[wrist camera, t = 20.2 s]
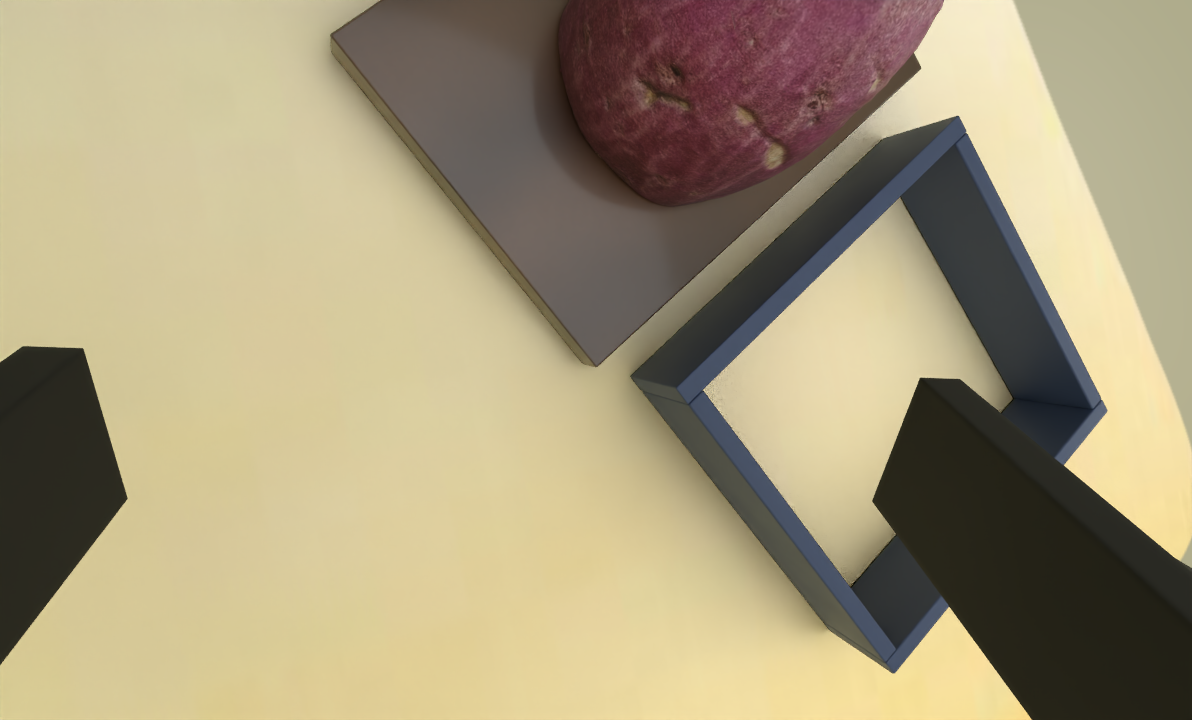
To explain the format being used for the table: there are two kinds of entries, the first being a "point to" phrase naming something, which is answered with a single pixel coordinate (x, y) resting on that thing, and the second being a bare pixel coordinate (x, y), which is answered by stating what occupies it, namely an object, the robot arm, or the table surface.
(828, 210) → the square frame
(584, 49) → the vegetable
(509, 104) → the cutting board
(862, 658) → the table surface
